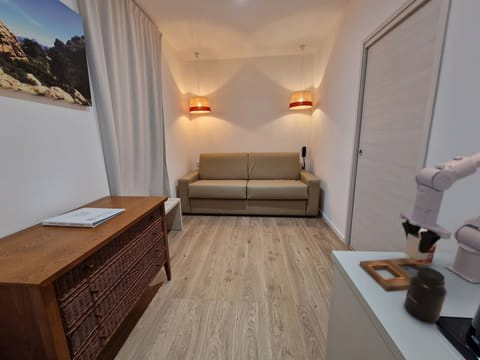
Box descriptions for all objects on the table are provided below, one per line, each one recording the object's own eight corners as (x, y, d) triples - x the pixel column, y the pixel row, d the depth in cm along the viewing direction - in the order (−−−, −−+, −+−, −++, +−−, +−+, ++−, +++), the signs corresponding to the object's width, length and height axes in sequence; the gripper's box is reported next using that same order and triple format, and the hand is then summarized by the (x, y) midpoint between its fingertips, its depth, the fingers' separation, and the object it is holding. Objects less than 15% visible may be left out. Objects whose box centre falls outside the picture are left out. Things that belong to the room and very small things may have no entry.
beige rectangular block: (414, 251, 69) (419, 232, 68) (426, 259, 65) (431, 238, 64) (403, 252, 69) (408, 233, 67) (415, 260, 65) (420, 239, 63)
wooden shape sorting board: (408, 261, 75) (409, 257, 75) (444, 286, 63) (445, 281, 63) (359, 265, 73) (360, 260, 72) (386, 291, 61) (387, 286, 61)
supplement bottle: (399, 309, 55) (408, 270, 52) (409, 298, 59) (418, 260, 56) (433, 329, 50) (446, 286, 47) (441, 315, 54) (453, 274, 51)
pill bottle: (423, 267, 72) (430, 237, 69) (405, 257, 78) (411, 229, 75) (435, 264, 74) (443, 235, 71) (416, 254, 79) (423, 227, 77)
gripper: (394, 200, 70) (387, 237, 73) (439, 218, 56) (428, 263, 59) (413, 199, 70) (405, 236, 74) (462, 217, 56) (450, 261, 60)
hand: (416, 248), depth 66 cm, fingers closed on beige rectangular block, 4 cm apart
